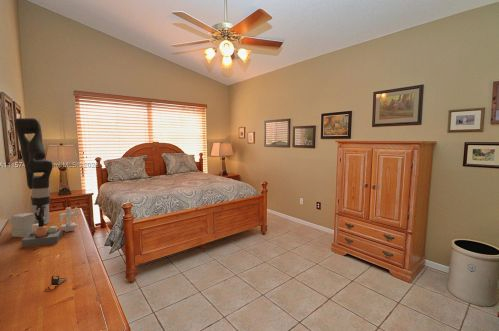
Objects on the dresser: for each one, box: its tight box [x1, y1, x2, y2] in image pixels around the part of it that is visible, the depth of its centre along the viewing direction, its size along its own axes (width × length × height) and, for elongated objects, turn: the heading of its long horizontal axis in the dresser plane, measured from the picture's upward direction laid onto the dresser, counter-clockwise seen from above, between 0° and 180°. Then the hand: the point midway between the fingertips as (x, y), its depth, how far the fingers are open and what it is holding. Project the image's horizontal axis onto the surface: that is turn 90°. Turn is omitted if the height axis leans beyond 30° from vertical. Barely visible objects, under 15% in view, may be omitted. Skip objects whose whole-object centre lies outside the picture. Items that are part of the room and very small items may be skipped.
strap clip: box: [50, 274, 68, 286], centre depth 96 cm, size 8×3×4 cm, turn 179°
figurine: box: [58, 206, 79, 233], centre depth 154 cm, size 7×9×15 cm
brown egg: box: [37, 225, 48, 238], centre depth 134 cm, size 4×4×6 cm
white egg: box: [32, 224, 39, 235], centre depth 137 cm, size 4×4×6 cm
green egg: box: [47, 225, 58, 233], centre depth 141 cm, size 4×4×6 cm
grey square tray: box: [21, 228, 63, 248], centre depth 137 cm, size 14×15×4 cm
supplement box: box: [11, 212, 34, 238], centre depth 143 cm, size 7×7×13 cm
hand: (41, 226), depth 133 cm, fingers closed
